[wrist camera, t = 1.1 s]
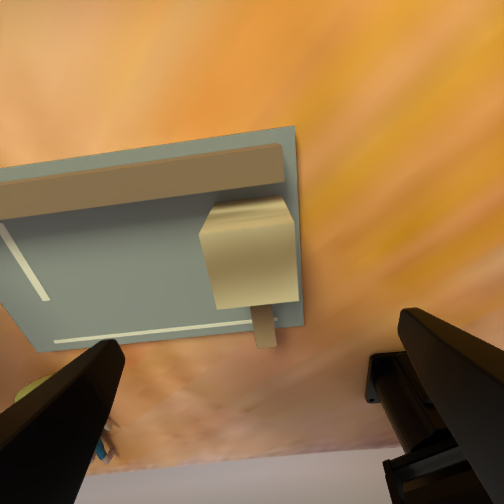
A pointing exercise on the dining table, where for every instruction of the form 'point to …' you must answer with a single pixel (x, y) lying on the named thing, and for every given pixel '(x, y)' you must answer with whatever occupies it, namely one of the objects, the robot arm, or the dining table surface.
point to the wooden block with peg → (252, 259)
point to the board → (133, 239)
